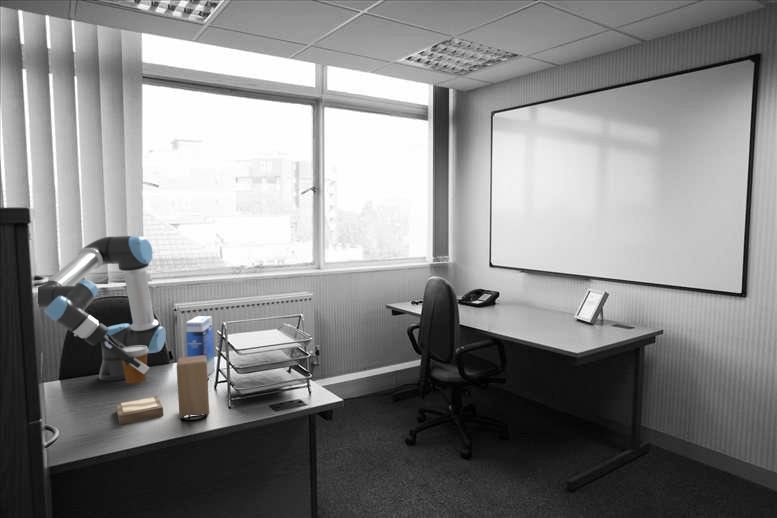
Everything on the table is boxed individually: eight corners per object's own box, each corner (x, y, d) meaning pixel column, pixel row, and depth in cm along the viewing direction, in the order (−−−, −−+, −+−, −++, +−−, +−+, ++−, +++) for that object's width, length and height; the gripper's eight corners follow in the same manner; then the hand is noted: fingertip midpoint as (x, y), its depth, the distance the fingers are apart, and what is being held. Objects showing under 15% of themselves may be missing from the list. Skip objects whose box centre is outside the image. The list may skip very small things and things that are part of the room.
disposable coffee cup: (155, 376, 186) (153, 344, 185) (141, 385, 176) (139, 352, 175) (130, 376, 186) (128, 344, 185) (115, 385, 177) (113, 352, 176)
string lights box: (199, 370, 232) (196, 316, 230) (215, 370, 232) (213, 315, 230) (188, 379, 219) (184, 322, 217) (205, 379, 219) (202, 322, 217)
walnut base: (116, 411, 185) (115, 402, 184) (157, 403, 192) (157, 395, 192) (119, 424, 173) (118, 415, 173) (163, 415, 180) (162, 406, 180)
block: (180, 409, 185) (177, 357, 183) (208, 405, 189) (206, 354, 187) (179, 420, 176) (176, 364, 174) (209, 415, 179) (206, 361, 178)
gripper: (82, 333, 181) (134, 368, 190) (83, 346, 162) (140, 384, 172) (98, 317, 183) (149, 352, 193) (101, 328, 165) (156, 366, 174)
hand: (145, 367), depth 182 cm, fingers closed on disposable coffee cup, 9 cm apart
